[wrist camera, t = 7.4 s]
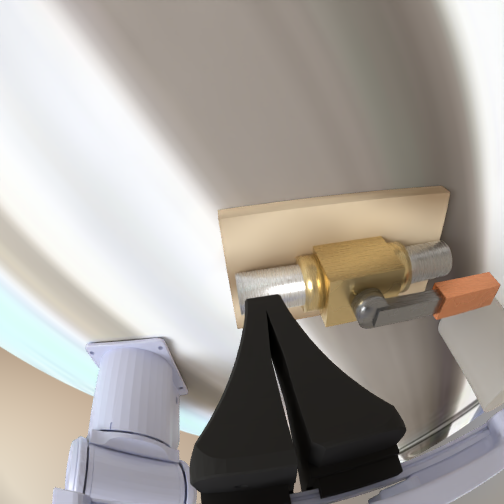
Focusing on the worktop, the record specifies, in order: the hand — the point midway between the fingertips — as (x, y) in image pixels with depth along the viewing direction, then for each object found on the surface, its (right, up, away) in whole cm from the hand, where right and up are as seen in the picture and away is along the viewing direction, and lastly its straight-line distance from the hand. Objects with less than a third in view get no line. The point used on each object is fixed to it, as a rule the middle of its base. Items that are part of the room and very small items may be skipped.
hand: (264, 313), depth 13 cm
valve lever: (+12, 0, +7) cm, 14 cm away
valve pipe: (+6, +2, +11) cm, 13 cm away
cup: (+25, -5, +19) cm, 32 cm away
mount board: (+6, +2, +11) cm, 13 cm away
